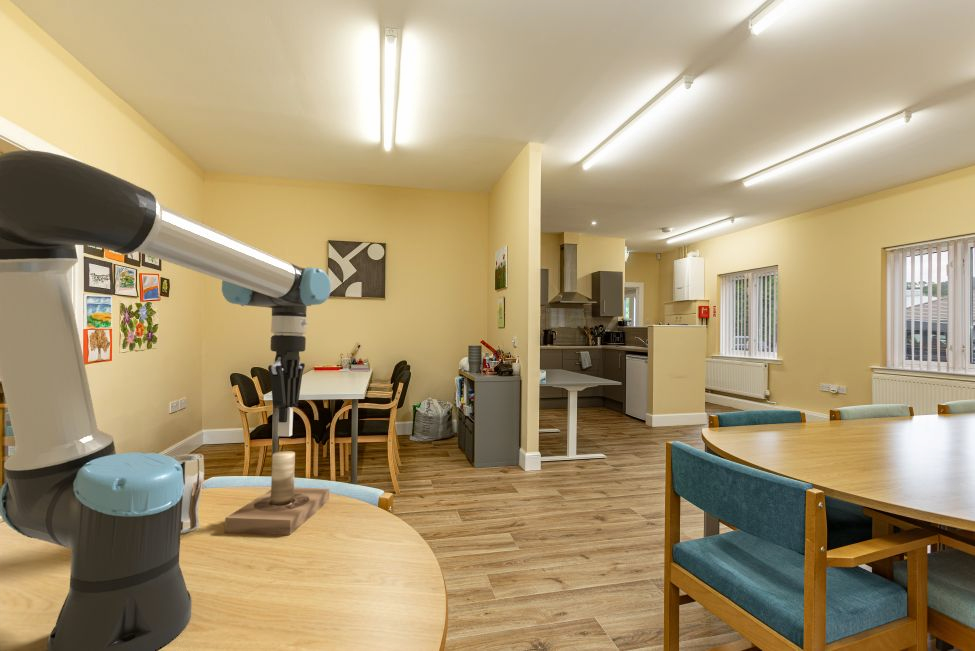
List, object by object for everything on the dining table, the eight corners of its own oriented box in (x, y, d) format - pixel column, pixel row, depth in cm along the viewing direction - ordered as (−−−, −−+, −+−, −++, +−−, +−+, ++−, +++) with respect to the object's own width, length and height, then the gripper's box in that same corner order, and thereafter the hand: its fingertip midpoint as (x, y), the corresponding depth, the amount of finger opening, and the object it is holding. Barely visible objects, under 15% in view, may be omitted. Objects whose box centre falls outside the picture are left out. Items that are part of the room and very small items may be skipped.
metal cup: (186, 536, 90) (190, 462, 91) (153, 535, 90) (157, 461, 91) (209, 522, 97) (212, 453, 98) (178, 521, 97) (181, 453, 98)
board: (290, 534, 92) (290, 520, 92) (224, 532, 92) (225, 517, 92) (328, 500, 112) (329, 488, 112) (275, 498, 112) (275, 486, 112)
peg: (286, 519, 100) (289, 456, 100) (265, 518, 100) (268, 456, 100) (296, 510, 104) (298, 451, 105) (276, 510, 104) (278, 450, 105)
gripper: (290, 334, 97) (286, 442, 96) (316, 335, 110) (313, 430, 109) (257, 333, 97) (253, 441, 96) (286, 335, 110) (283, 429, 109)
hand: (284, 435), depth 103 cm, fingers closed
